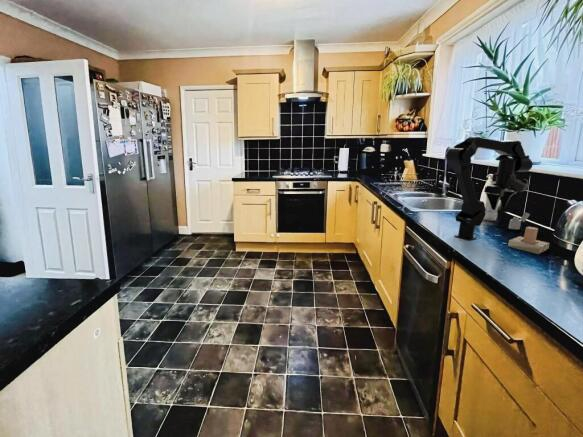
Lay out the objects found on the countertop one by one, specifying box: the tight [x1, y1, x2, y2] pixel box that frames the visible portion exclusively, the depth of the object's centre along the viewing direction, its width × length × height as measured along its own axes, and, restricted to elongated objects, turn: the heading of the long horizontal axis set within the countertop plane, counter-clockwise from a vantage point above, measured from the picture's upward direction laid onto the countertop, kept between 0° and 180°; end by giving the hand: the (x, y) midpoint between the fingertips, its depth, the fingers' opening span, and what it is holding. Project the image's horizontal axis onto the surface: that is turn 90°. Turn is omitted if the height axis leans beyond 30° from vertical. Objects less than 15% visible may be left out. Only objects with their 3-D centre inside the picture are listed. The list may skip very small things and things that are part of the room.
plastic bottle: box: [483, 181, 501, 222], centre depth 163 cm, size 6×7×20 cm
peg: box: [523, 226, 539, 244], centre depth 123 cm, size 3×3×8 cm
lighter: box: [508, 212, 530, 230], centre depth 149 cm, size 7×2×8 cm, turn 78°
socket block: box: [507, 236, 550, 255], centre depth 123 cm, size 10×10×2 cm
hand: (498, 208), depth 136 cm, fingers open, 9 cm apart
